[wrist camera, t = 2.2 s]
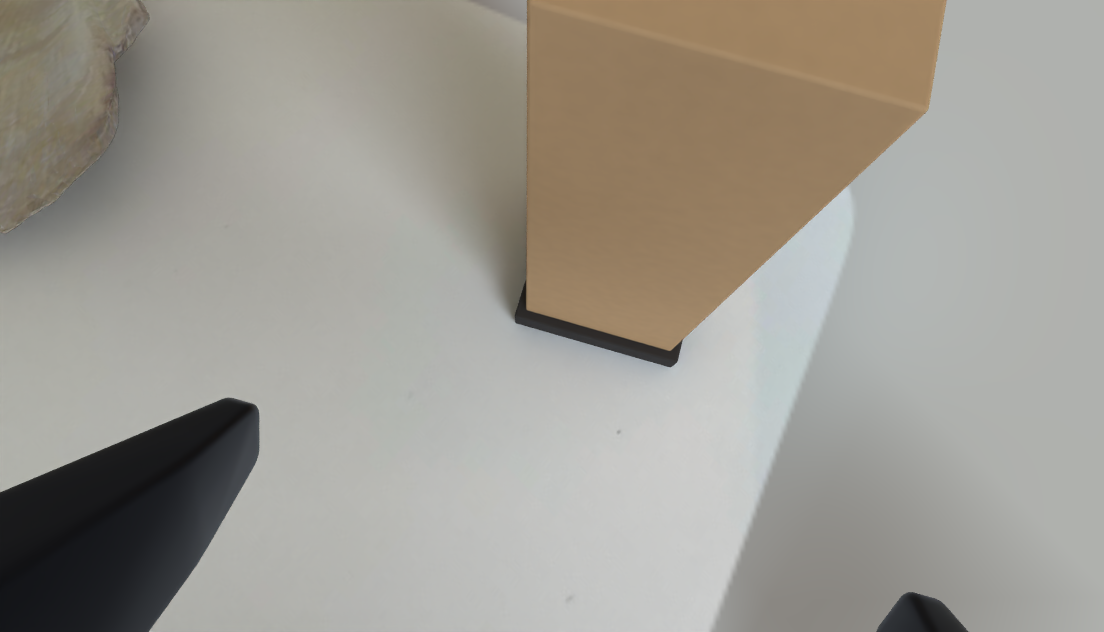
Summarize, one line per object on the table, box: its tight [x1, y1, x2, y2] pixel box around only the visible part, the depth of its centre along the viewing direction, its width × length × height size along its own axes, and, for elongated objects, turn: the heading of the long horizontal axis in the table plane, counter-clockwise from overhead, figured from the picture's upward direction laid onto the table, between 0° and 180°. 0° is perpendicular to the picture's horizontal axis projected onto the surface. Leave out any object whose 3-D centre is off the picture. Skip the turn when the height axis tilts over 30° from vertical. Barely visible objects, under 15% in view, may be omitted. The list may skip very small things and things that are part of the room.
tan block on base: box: [515, 0, 946, 367], centre depth 17 cm, size 6×6×16 cm
